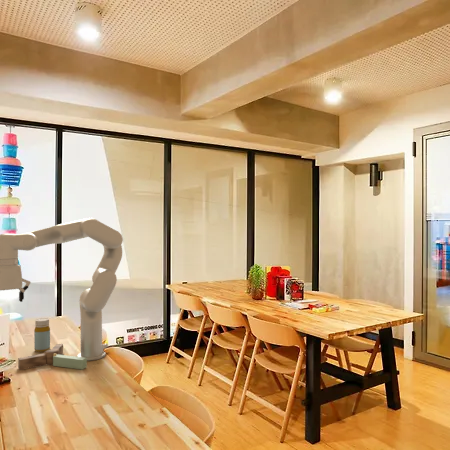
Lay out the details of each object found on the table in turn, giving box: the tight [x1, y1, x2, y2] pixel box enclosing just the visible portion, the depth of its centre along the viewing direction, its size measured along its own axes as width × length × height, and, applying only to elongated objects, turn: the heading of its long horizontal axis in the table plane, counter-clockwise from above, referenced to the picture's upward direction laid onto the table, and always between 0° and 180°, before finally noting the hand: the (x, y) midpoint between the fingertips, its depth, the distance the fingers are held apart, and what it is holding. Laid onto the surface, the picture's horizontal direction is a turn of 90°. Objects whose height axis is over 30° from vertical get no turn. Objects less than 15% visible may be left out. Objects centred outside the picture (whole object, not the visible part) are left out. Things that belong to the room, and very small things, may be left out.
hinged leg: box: [52, 353, 88, 370], centre depth 178 cm, size 16×3×5 cm, turn 72°
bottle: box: [33, 317, 51, 353], centre depth 202 cm, size 7×7×15 cm
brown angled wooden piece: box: [17, 343, 64, 371], centre depth 185 cm, size 25×11×5 cm, turn 158°
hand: (8, 302), depth 176 cm, fingers open, 9 cm apart
